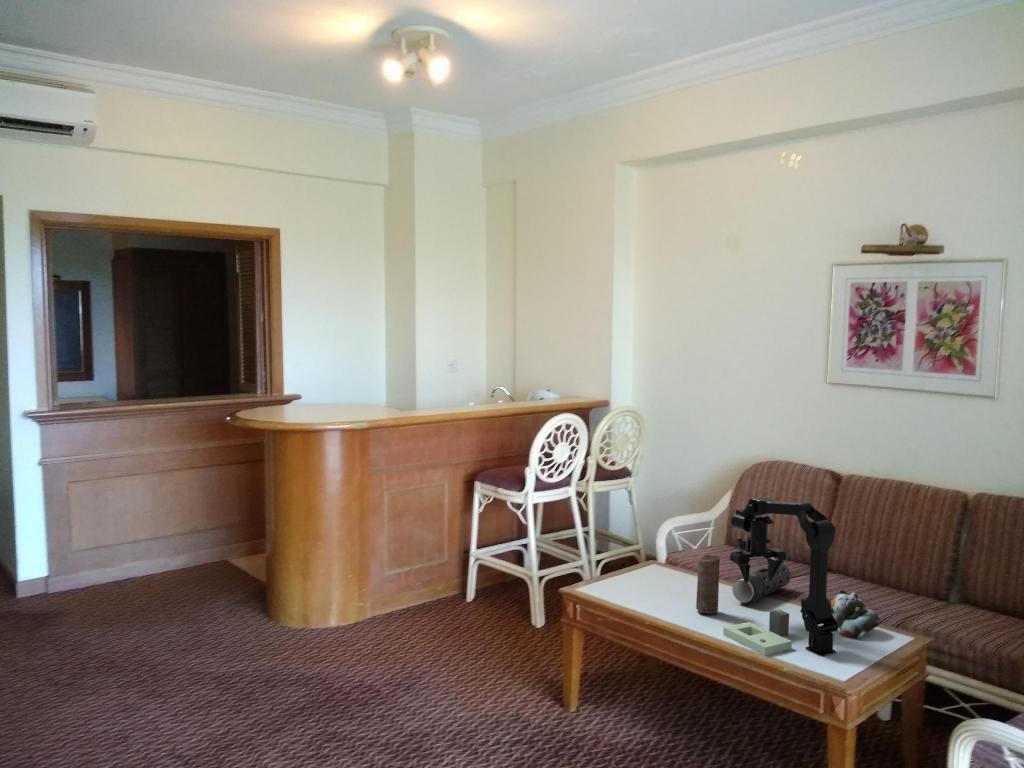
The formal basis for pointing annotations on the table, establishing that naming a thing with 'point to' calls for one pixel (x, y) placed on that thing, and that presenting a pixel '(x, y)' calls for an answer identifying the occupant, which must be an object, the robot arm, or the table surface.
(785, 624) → the block
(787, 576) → the muzzle brake
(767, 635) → the socket box
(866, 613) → the lucky cat figurine
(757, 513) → the robot arm
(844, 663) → the table surface
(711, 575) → the brown cylinder
